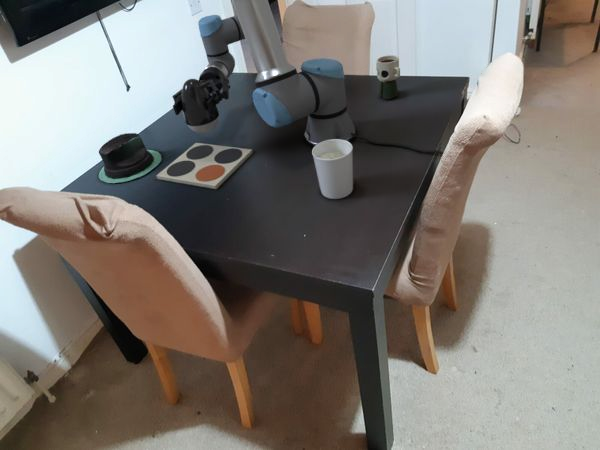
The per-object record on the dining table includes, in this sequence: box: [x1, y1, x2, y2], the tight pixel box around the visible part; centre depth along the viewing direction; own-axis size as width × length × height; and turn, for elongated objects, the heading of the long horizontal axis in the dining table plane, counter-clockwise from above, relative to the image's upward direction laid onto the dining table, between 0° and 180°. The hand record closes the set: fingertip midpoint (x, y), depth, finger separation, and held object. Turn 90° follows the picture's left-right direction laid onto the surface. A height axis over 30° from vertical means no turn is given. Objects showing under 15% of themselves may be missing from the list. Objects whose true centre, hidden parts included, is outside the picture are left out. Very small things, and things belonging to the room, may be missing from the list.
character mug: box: [375, 55, 401, 100], centre depth 147 cm, size 11×7×13 cm, turn 34°
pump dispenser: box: [181, 78, 220, 134], centre depth 127 cm, size 10×10×15 cm
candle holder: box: [311, 139, 354, 200], centre depth 109 cm, size 10×10×12 cm
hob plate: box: [155, 142, 254, 190], centre depth 133 cm, size 22×20×1 cm
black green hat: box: [98, 132, 162, 184], centre depth 138 cm, size 15×19×20 cm
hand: (192, 108), depth 123 cm, fingers closed on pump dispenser, 9 cm apart
